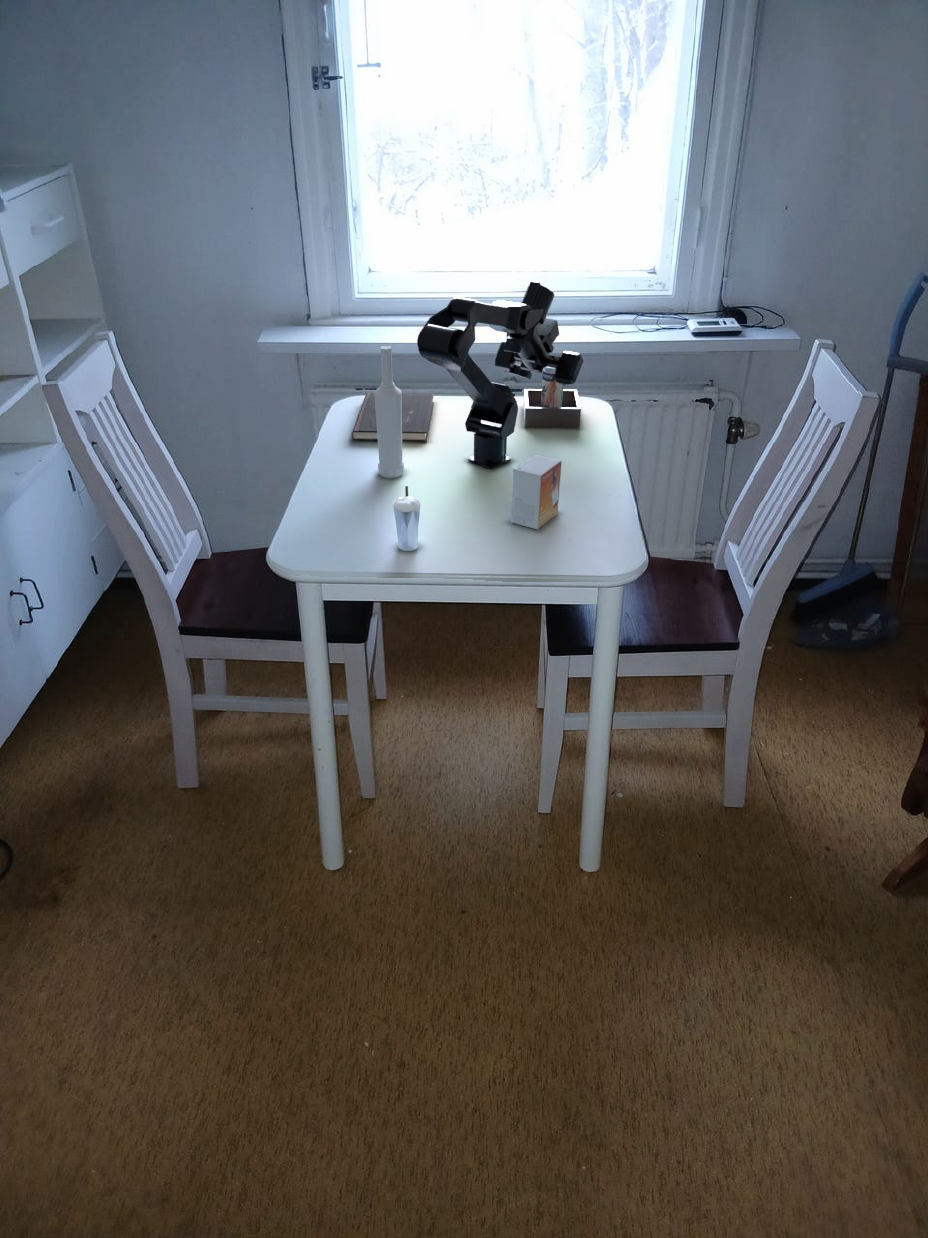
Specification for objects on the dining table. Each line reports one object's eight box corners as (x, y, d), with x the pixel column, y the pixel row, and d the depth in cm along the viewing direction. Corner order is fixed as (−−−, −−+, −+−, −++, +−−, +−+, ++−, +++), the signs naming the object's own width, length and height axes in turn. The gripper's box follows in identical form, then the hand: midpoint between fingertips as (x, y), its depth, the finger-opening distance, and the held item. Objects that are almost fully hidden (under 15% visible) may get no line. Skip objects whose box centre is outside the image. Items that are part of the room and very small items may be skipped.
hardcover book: (433, 403, 214) (433, 393, 213) (426, 442, 195) (426, 431, 194) (365, 402, 214) (365, 392, 213) (352, 440, 195) (351, 430, 194)
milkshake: (421, 538, 160) (420, 485, 154) (421, 553, 155) (420, 499, 150) (395, 538, 159) (393, 485, 154) (394, 553, 155) (392, 500, 149)
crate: (579, 428, 202) (581, 408, 199) (524, 427, 202) (525, 408, 199) (575, 408, 212) (577, 389, 209) (523, 407, 212) (524, 388, 209)
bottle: (373, 475, 181) (366, 349, 167) (387, 465, 185) (381, 341, 171) (395, 480, 179) (390, 353, 165) (409, 470, 183) (405, 345, 169)
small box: (537, 530, 162) (540, 476, 156) (510, 522, 164) (512, 468, 159) (558, 513, 168) (562, 460, 162) (532, 506, 170) (534, 453, 164)
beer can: (536, 415, 208) (538, 363, 201) (554, 412, 209) (557, 360, 203) (546, 423, 204) (549, 370, 197) (565, 419, 206) (568, 367, 199)
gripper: (583, 315, 183) (601, 354, 197) (501, 301, 191) (524, 340, 205) (563, 365, 182) (583, 401, 196) (482, 349, 190) (506, 385, 204)
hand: (549, 380), depth 200 cm, fingers open, 9 cm apart
